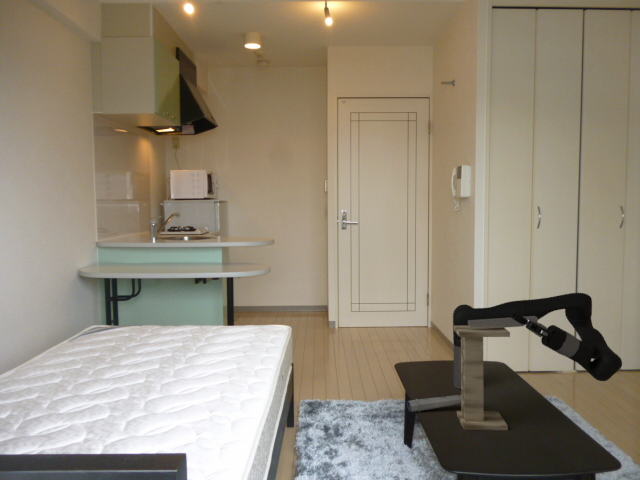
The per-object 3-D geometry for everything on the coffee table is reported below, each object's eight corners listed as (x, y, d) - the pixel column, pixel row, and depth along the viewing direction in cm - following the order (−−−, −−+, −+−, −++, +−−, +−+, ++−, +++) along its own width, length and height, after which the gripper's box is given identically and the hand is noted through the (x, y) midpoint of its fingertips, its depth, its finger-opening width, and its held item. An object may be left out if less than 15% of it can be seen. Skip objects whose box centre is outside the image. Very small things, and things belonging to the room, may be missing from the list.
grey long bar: (468, 327, 168) (467, 320, 168) (535, 323, 166) (534, 315, 166) (469, 329, 166) (469, 322, 165) (537, 325, 164) (537, 317, 164)
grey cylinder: (405, 398, 181) (473, 386, 182) (408, 416, 182) (475, 404, 182) (409, 403, 176) (478, 392, 177) (411, 422, 176) (480, 410, 177)
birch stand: (453, 414, 175) (453, 324, 173) (500, 415, 173) (500, 324, 172) (460, 429, 163) (460, 333, 161) (511, 430, 161) (510, 333, 160)
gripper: (557, 326, 171) (513, 302, 172) (575, 336, 157) (526, 310, 158) (546, 345, 172) (502, 320, 173) (562, 357, 158) (514, 330, 159)
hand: (514, 315), depth 165 cm, fingers closed on grey long bar, 2 cm apart
